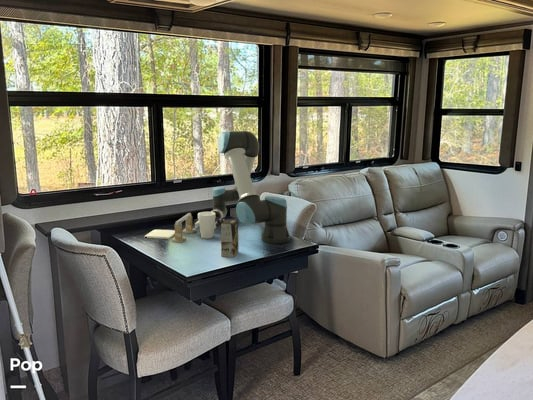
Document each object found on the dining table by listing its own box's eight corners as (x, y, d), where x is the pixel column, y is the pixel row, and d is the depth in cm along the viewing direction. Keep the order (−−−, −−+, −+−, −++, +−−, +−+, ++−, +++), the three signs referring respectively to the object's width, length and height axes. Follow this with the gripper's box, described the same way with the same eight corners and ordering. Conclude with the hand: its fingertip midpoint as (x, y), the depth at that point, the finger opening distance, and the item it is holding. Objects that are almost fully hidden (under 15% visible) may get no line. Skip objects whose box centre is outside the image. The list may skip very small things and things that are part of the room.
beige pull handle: (185, 230, 263) (185, 215, 261) (195, 230, 262) (195, 215, 260) (171, 241, 240) (171, 224, 239) (182, 242, 240) (182, 225, 238)
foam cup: (197, 235, 252) (196, 212, 250) (213, 233, 255) (213, 211, 253) (200, 239, 244) (199, 216, 241) (217, 238, 246) (216, 214, 244)
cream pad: (178, 232, 259) (177, 230, 259) (169, 238, 245) (169, 237, 245) (154, 231, 261) (154, 229, 261) (144, 237, 247) (144, 236, 247)
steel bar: (188, 215, 260) (188, 212, 260) (191, 215, 260) (191, 213, 260) (175, 224, 239) (175, 222, 239) (178, 224, 239) (178, 222, 238)
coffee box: (234, 257, 215) (233, 224, 212) (220, 256, 216) (220, 223, 213) (239, 251, 224) (238, 219, 220) (226, 250, 225) (225, 219, 222)
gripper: (233, 223, 265) (224, 234, 243) (197, 222, 268) (185, 232, 246) (233, 211, 263) (224, 220, 241) (196, 209, 266) (184, 218, 244)
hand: (204, 226), depth 244 cm, fingers closed on foam cup, 9 cm apart
